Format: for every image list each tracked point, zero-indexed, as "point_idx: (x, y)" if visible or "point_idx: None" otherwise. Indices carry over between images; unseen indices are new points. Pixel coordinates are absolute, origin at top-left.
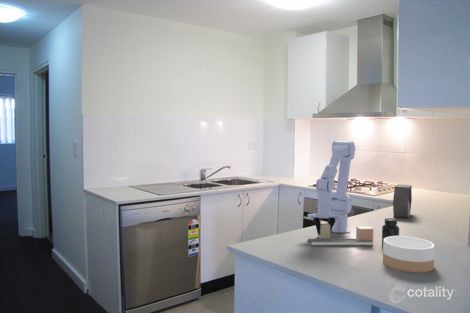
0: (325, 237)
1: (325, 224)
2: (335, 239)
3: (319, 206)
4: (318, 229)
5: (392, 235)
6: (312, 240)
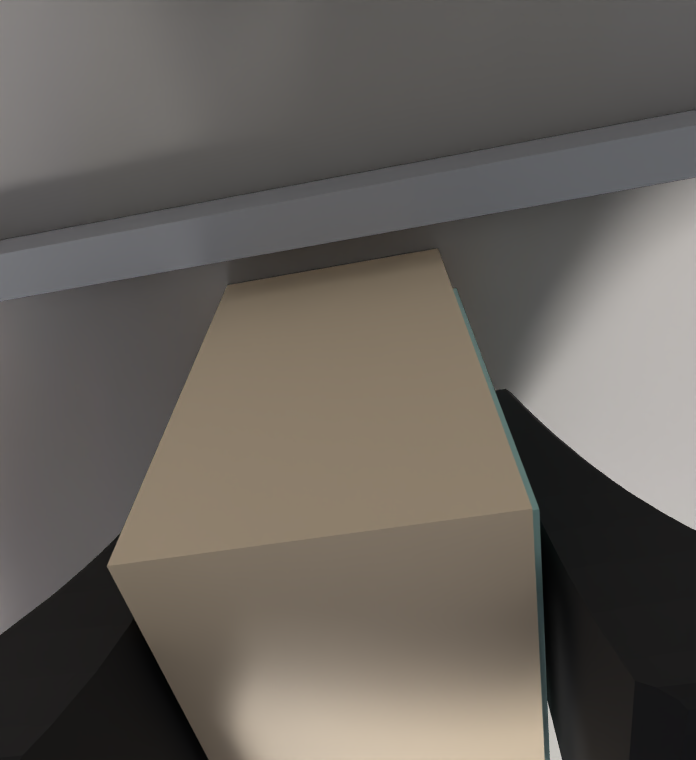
0: (331, 292)
1: (325, 596)
2: (76, 236)
3: None
4: (560, 453)
5: None
6: (694, 114)
